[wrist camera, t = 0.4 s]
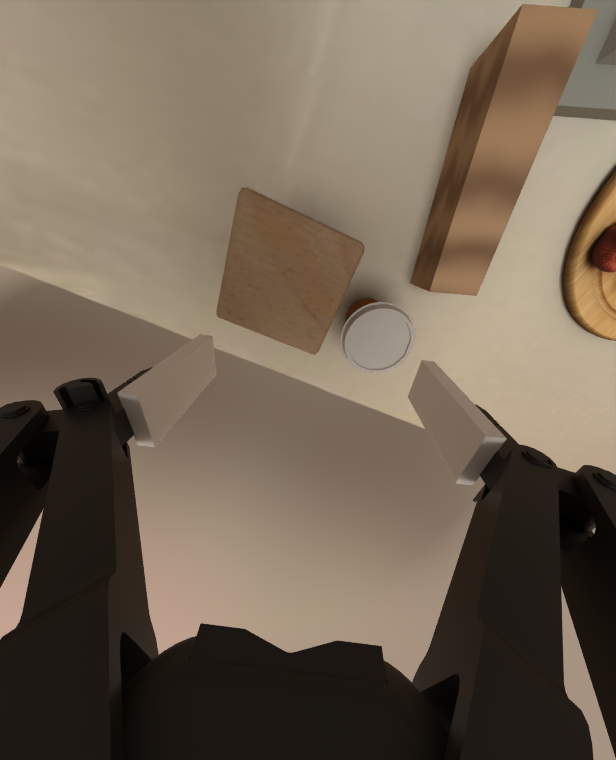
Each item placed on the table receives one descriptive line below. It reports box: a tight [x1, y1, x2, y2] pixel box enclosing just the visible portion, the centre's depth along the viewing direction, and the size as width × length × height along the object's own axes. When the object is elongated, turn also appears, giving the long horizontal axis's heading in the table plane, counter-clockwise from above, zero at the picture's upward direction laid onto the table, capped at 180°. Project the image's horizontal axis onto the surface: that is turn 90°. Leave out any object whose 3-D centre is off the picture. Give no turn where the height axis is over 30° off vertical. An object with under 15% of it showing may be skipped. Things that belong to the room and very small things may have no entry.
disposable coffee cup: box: [340, 299, 415, 373], centre depth 34 cm, size 10×10×12 cm
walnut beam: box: [410, 4, 598, 296], centre depth 28 cm, size 22×6×8 cm, turn 176°
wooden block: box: [217, 188, 364, 354], centre depth 28 cm, size 10×10×20 cm
